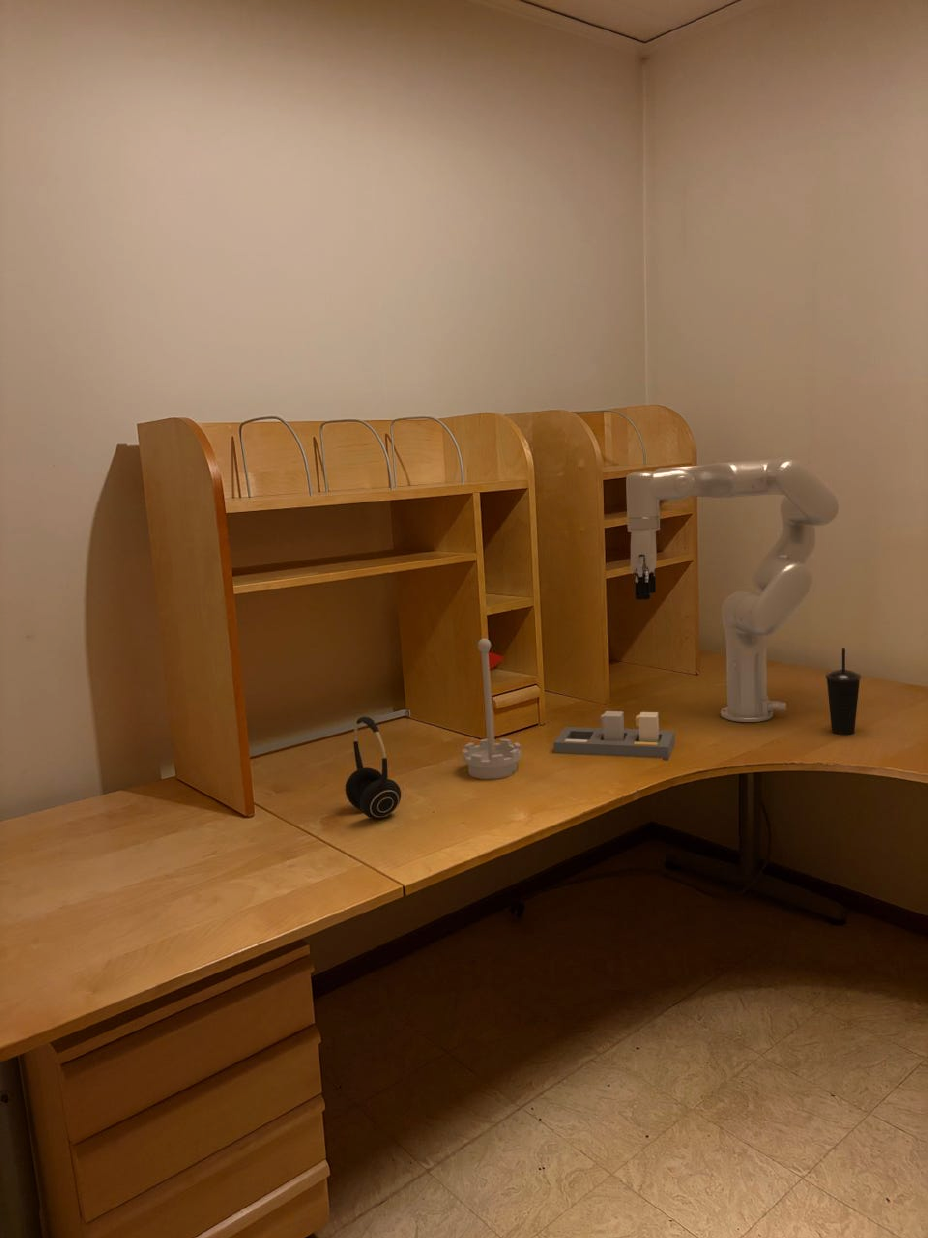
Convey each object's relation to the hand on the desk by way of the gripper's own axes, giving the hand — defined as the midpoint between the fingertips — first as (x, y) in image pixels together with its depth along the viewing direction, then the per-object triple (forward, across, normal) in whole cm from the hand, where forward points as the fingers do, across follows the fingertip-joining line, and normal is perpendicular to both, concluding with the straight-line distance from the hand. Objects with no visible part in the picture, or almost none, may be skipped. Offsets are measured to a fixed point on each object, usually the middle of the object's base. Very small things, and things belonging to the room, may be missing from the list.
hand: (646, 595), depth 223 cm
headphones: (+34, +62, -46) cm, 84 cm away
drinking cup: (+34, -3, +44) cm, 55 cm away
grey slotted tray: (+33, +16, -6) cm, 37 cm away
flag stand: (+34, +34, -30) cm, 56 cm away
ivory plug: (+33, +16, +2) cm, 37 cm away
